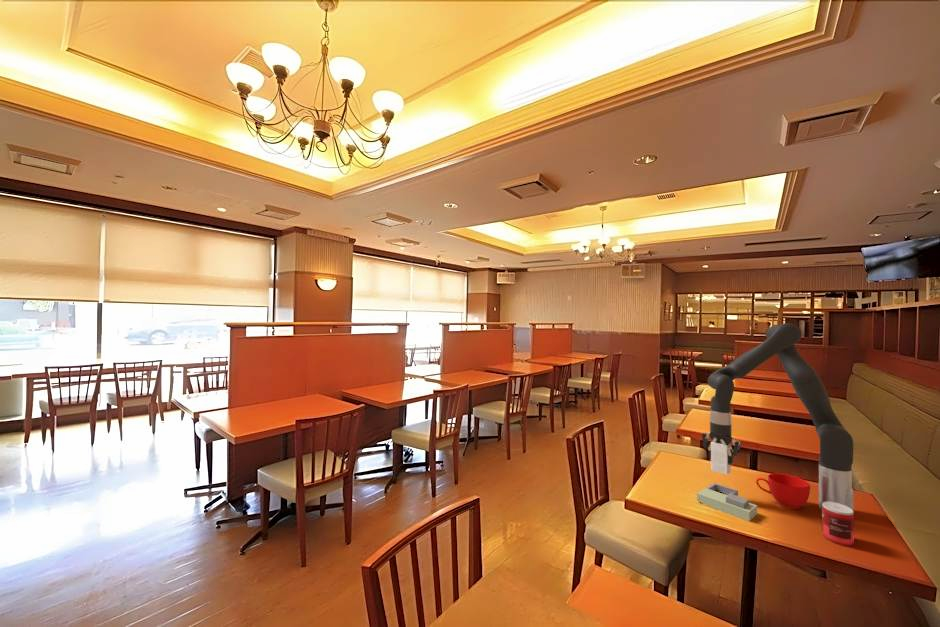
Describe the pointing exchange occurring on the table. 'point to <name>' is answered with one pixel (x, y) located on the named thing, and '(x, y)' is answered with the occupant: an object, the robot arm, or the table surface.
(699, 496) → the green base with arch
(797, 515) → the table surface
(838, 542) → the canned food
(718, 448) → the skincare box
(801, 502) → the ceramic cup
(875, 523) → the table surface
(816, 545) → the table surface
